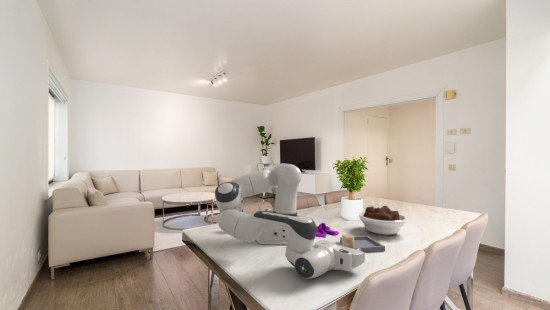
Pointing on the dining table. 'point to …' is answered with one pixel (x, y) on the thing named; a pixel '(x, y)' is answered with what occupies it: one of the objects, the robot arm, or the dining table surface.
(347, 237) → the wooden cylinder
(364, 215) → the bowl of chocolate chunks
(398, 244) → the dining table surface
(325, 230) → the cloth
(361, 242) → the tray
